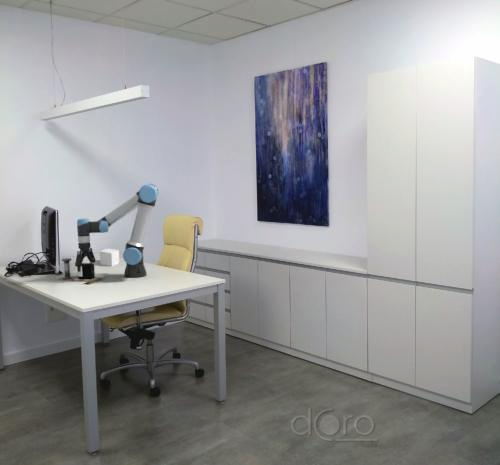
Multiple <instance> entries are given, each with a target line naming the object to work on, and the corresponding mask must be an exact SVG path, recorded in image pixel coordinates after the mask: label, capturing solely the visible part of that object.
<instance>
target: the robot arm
mask: <svg viewBox="0 0 500 465" xmlns="http://www.w3.org/2000/svg"><path fill="white" fill-rule="evenodd" d="M158 196H159V190H158V187H157V185H154V184H152V183H146V184H144V185H142V186H141V187H140V188H139V190H138V191H136V192H135V194H134V195H133V196H132V197H131V198H129V199H128V200H126V201H125V202H123V203H122V204H121V205H119V206H118V207H116V208H115V209H113V210H112V211H110V212H109V213H107V214H106V215H105V216H103V217H102V218H100V219H98V220H96V221H95V220H94V221H90V219H89V218H79V219H77V221H76V229H77V230H76V231H77V240H78V241H77V242H78V244H77V245H78V246H77V247H78V249H79V250H77V251H76V259H75V263H74V266H75V267H76V269H78V271H77V276H82V266H81V264H82V263H84V262H83V261H84V258H85V257H87V260H88V261H89V263H93V264H94V263H96V258H95V255H94V251H93V248H92V247H91V235H90V234H97V233H98V234H99V233H100V234H101V233H102V234H104V233H108V232H109V228H110V227H111V226H112V225H113V224H116V223H117V222H119V221H120V220H121V219H123V218H125V217H126V216H127V215H129V214H130V213H131V212H133V211H135V210H136V209H137V212H136V214H135V219H134V222H133V226H132V230H131V233H130V239H129V240H128V241H127V242H126V243H125V247H124V251H123V253H122V257H123V260H124V262H125V264H126V265H125V269H124V272H123V274H124V275H123V276H124V277H125V278H142V277H146V276H148V275H147V270H146V267H145V264H144V262H145V261H144V249H145V245H144V239H145V235H146V232H147V228H148V224H149V221H150V215H151V212H152V210H153V208H154V207H156V206H155V205H156V202H157V198H158ZM79 264H80V265H79ZM94 265H95V264H94Z"/></svg>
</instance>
